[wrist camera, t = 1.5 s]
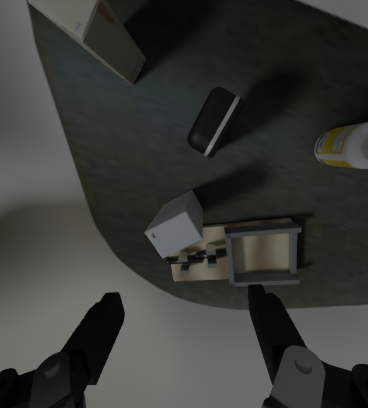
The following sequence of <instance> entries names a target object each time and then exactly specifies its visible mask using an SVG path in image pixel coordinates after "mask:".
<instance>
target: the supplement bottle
mask: <svg viewBox="0 0 368 408" xmlns="http://www.w3.org/2000/svg"><path fill="white" fill-rule="evenodd" d="M314 153H315V156H316V158H317V160H318V161H319V162H321V163H323V164H325V165H331V166H340V167H349V168H358V169H368V122H366V123H361V124H355V125H350V126H344V127H339V128H334V129H331V130H328V131H326V132H325V133H323V134H322V135H321V136H320V137H319V139H318V140H317V142H316V144H315V148H314Z"/></svg>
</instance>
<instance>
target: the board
mask: <svg viewBox="0 0 368 408" xmlns="http://www.w3.org/2000/svg"><path fill="white" fill-rule="evenodd" d="M283 222H292V219H290V218H283V219H272V220H261V221H249V222H238V223H227V224H215V225H204V226H203V239H202V240H199V241H197V242H195V243H193V244H191V245H189V246H187V247H185V248H183V249H181V250H179V251H177V252H175V253H173V254H171V255H169V256H170V258H177V257H179V253H180V251H186V250H188V251H189V257H193V256H195V253H196V252H203V251H206V244H209V243H215V251H218V250H224V251H225V252H226V245H225V234H224V227H236V226H248V225H260V224H271V223H283ZM231 247H232V260H233V272H234V274H236V273H256V272H276V271H288V265H289V233H285V234H272V235H259V236H247V237H234V238H231ZM216 260H217V268H208V262H207V258H204V262H202V263H190V265H191V268H190V274H187V275H181V272H180V270H181V265H182V264H172V265H171V267H172V273H173V278H174V281H192V280H214V279H229V278H228V267H227V256H226V255H225V256H224V257H216Z"/></svg>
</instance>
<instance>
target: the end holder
mask: <svg viewBox="0 0 368 408" xmlns="http://www.w3.org/2000/svg"><path fill="white" fill-rule="evenodd" d="M298 232H301V227H300V226H299V225H298V224H296V223H295V222H283V223H271V224H260V225H248V226H236V227H224V234H225V245H226V256H227V267H228V278H229V284H230V287H235V286H248V285H252V284H262V285H284V284H300V279H299V278H298V277H297V275H296V263H297V233H298ZM285 233H289V265H288V271H276V272H256V273H236V274H234V272H233V260H232V247H231V238H234V237H247V236H259V235H272V234H285Z"/></svg>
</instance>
